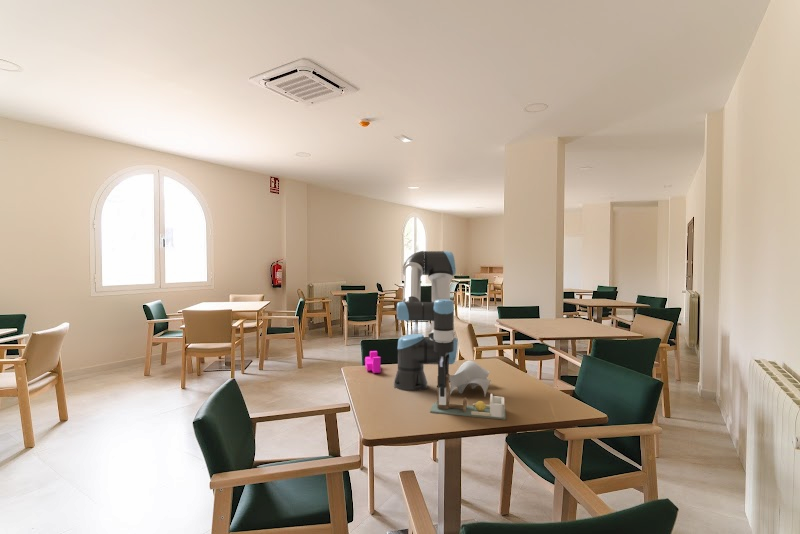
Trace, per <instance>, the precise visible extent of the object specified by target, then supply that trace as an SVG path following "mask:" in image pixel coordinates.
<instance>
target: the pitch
mask: <svg viewBox="0 0 800 534" xmlns="http://www.w3.org/2000/svg"><path fill="white" fill-rule="evenodd" d="M506 411H507V410H506V408H504V418H502V417H491V416H490V404H485V409H484V410H483V411H478V410H477V409H476V403H472V405H468V404H467V407H466V412H464V411H463V409H459V408H448V409H441V408H437V402H436V401H435V402H433V404H432V406H431V409H430V410H429V413H432V414H441V415H452V416H461V417H462V416H463V417H473V418H484V419H495V420H502V421H503V420H505V421H506V420H507V418H506V417H507V416H506V415H507V414H506V413H507V412H506Z"/></svg>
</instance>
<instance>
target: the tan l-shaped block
mask: <svg viewBox="0 0 800 534" xmlns="http://www.w3.org/2000/svg"><path fill="white" fill-rule="evenodd" d="M449 375H450V374H446V405H439V388H438V387H437V386H438V375H437V381H436V382H437V385H436V388H437V389H436V390H437V392H436V393H437V396H436V397H437V398H436V399H437V402H436V403H437V408H441V409H448V408H459V409H463V411H464V412H466V407H467V405H468V403H467V402H468V401H467V400H468V398H467V397H463V400H462V404H456V403H454V404H453V403H450V383H449Z"/></svg>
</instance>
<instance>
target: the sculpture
mask: <svg viewBox="0 0 800 534" xmlns="http://www.w3.org/2000/svg"><path fill="white" fill-rule="evenodd" d="M489 374H490V371H489V370H487V369H485V368H483V367H482V366H480V365H479V364H478V363H477V362H476V361H474V360H471V359H469V360H466V361H464V362H463V363H462V364H461V365H460V366H459V367H458V368H457V370H456V372H455V373H454V374H453V375H451V374H449V380H450V383H449V386H450V390H449V395H452V392H453V391H454V390H455V389H456V388H457V390H458V393H459V394H463V393H464V391H465V389H466V387H467V386H468V385H469V384H470V385H471V386H470V387H471V389H472V390H474V389H475V388H476V387H478V386H480V387H481V388H482V390H483V393H484V394H483V395H484V396H487V391H488V390H489V386H490V384H491V381H492V380H491V379H489V378H488V376H489ZM487 378H488V379H487Z"/></svg>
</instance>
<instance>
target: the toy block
mask: <svg viewBox="0 0 800 534" xmlns="http://www.w3.org/2000/svg"><path fill="white" fill-rule="evenodd" d="M381 358H382V357H381V356H378V351H377V350H370V351H369V356H365V358H364V366H365V368H366V371H368V372H369V371H372V373H373V374H375V373H376V374H377V373H378V374H379V373H381V371H382V370H381V369H382V368H381V367H382V366H381V365H382V364H381Z"/></svg>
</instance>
